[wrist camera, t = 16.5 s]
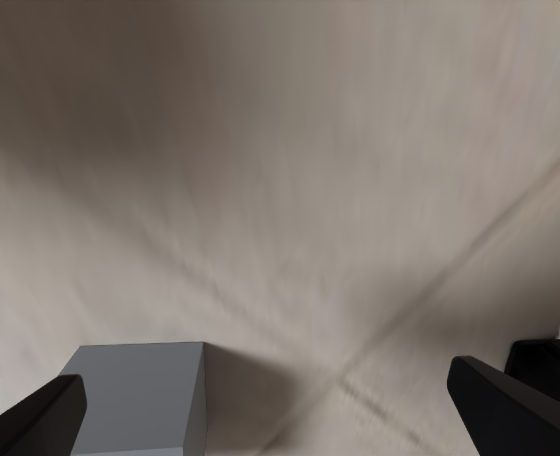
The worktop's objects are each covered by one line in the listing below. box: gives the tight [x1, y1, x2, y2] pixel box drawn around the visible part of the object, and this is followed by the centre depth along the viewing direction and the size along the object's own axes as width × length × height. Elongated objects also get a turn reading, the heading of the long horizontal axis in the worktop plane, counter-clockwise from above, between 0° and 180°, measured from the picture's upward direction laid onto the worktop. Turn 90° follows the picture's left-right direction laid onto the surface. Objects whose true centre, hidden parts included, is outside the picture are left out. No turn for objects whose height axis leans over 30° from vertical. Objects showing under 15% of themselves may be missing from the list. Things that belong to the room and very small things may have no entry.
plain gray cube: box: [57, 342, 208, 456], centre depth 19 cm, size 8×8×7 cm
